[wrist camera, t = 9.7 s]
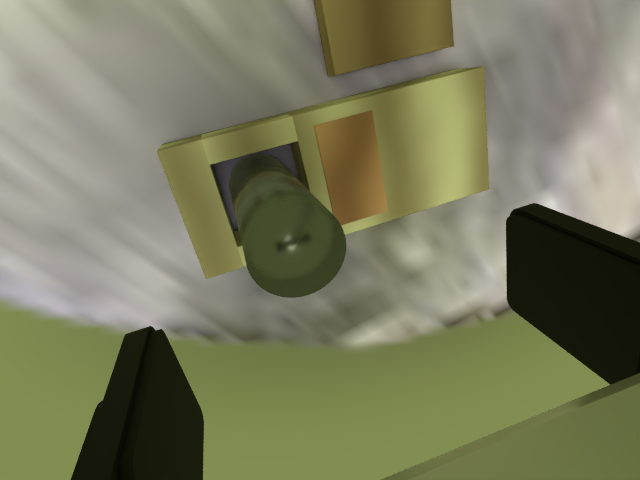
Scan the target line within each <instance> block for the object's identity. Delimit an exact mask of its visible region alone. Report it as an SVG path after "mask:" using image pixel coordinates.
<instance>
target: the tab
mask: <svg viewBox="0 0 640 480" xmlns="http://www.w3.org/2000/svg"><path fill="white" fill-rule="evenodd" d="M314 5H315V10H316V15H317V20H318V26H319V31H320V36H321V41H322V46H323V51H324V57H325V62H326V67H327V72H328V76H334V75H339V74H343V73H347V72H351V71H355V70H359V69H363V68H367V67H371V66H375V65H379V64H383V63H387V62H391V61H395V60H399V59H404V58H408V57H412V56H416V55H420V54H424V53H428V52H432V51H436V50H440V49H444V48H448V47H452V46H454V41H453V26H452V12H451V0H314Z"/></svg>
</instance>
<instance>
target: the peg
mask: <svg viewBox="0 0 640 480" xmlns="http://www.w3.org/2000/svg"><path fill="white" fill-rule="evenodd" d="M229 188H230V193H231V197H232V202H233V206H234V211H235V216H236V220H237V225H238V229H239V234H240V238H241V243H242V247H243V252H244V256H245V261H246V265H247V268H248V271H249V273H250V275H251V276H252V278H253V279H254V281H255V282H256V283H257V284H258V285H259V286H260V287H261V288H263V289H264V290H266V291H267V292H269V293H271V294H274V295H277V296H281V297H301V296H306V295H309V294H312V293H314V292H316V291H318V290H320V289H321V288H323V287H324V286H326V285H327V284H328V283H329V282H330V281H331V280H332V279H333V278H334V277H335V276H336V274H337V273H338V271H339V269H340V268H341V266H342V263H343V261H344V257H345V252H346V239H345V234H344V231H343V228H342V226H341V224H340V223H339V221H338V220H337V218H336V217H335V216H334V215H333V214H332V213H331V212H330V211H329V210H328V209H327V208H326V207H325V206H324V205H323V204H322V203H321V202H320V201H319V200H318V199H317V198H316V197H315V196H314V195H313V194H312V193H311V192H310V191H309V190H308V189H307V188H306V187H305V186H304V185H303V184H302V183H301V182H300V181H299V180H298V179H297V178H296V177H295V176H294V175H293V174H292V173H291V172H290V171H289V170H288V169H287V168H286V167H285V166H284V165H283V164H282V163H281V162H280V161H279V160H277V159H276V158H274V157H272V156H269V155H266V154H253V155H250V156H247V157H245V158H243V159H242V160H240V161H239V162H238V163H237V164H236V166H235V167H234V168H233V170H232V172H231V175H230V180H229Z"/></svg>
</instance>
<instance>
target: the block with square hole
mask: <svg viewBox="0 0 640 480" xmlns="http://www.w3.org/2000/svg"><path fill="white" fill-rule="evenodd" d="M289 143H290V145H291V149H292V153H293V157H294V161H295V165H296V169H297V173H298V177H299V181H300V182H301V183H302V184H303V185H304V186H305V187H306V188H307V189H308V190H309V191H310V192H311V193H312V194H313V195H314V196H315V197H316V198H317V199H318V200H319V201H320V202H321V203H322V204H323V205H324V206H325V207H326V208H327V209H328V210H329V211H330V212H331V213H332V214H333V215H334V216H335V217H336V218H337V220H338V221H339V223H340V224H341V226H342V228H343V231H344V234H345V235H346V234H349V233H352V232H356V231H359V230H362V229H365V228H368V227H371V226H374V225H378V224H381V223H384V222H387V221H390V220H393V219H397V218H400V217H403V216H406V215H409V214H412V213H415V212H419V211H422V210H425V209H428V208H431V207H434V206H437V205H441V204H444V203H447V202H450V201H453V200H456V199H459V198H463V197H466V196H469V195H472V194H475V193H478V192H482V191H485V190H488V189H489V172H488V149H487V125H486V102H485V78H484V67H473V68H462V69H454V70H450V71H446V72H442V73H438V74H435V75H431V76H427V77H423V78H419V79H415V80H411V81H407V82H403V83H400V84H396V85H392V86H388V87H384V88H380V89H376V90H372V91H368V92H365V93H361V94H357V95H353V96H349V97H345V98H341V99H337V100H334V101H330V102H326V103H322V104H318V105H314V106H310V107H306V108H302V109H299V110H295V111H291V112H287V113H283V114H279V115H275V116H271V117H267V118H264V119H260V120H256V121H252V122H248V123H244V124H240V125H236V126H232V127H229V128H225V129H221V130H217V131H213V132H209V133H205V134H201V135H197V136H194V137H190V138H186V139H182V140H178V141H174V142H170V143H166V144H162V146H161V147H160V148H159V149H158V151H157V154H158V156H159V159H160V161H161V164H162V166H163V169H164V172H165V174H166V177H167V179H168V182H169V184H170V187H171V190H172V192H173V195H174V197H175V200H176V203H177V205H178V208H179V210H180V213H181V215H182V218H183V221H184V223H185V226H186V228H187V231H188V233H189V236H190V239H191V241H192V244H193V246H194V249H195V252H196V254H197V257H198V259H199V262H200V264H201V267H202V270H203V272H204V275H205V277H206V279H208V278H211V277H214V276H217V275H220V274H223V273H227V272H230V271H233V270H236V269H239V268H242V267H245V266H247V265H246V261H245V256H244V252H243V247H242V243H241V238H240V234H239V230H237V231H234V229H233V226H232V223H231V220H230V217H229V214H228V211H227V208H226V205H225V202H224V200H223V197H222V194H221V191H220V188H219V185H218V182H217V179H216V176H215V173H214V170H213V167H212V164H215V163H218V162H222V161H226V160H230V159H233V158H237V157H241V156H244V155H248V154H252V153H255V152H259V151H263V150H266V149H270V148H274V147H278V146H281V145H285V144H289Z"/></svg>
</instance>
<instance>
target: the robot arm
mask: <svg viewBox="0 0 640 480" xmlns="http://www.w3.org/2000/svg"><path fill="white" fill-rule="evenodd" d="M506 257H507V301H508V304H509V306H510V307H511V308H512V310H513V311H515V312H516V313H517V314H519V315H520V316H521V317H523V318H524V319H525V320H526V321H528V322H529V323H530V324H532V325H533V326H534V327H536V328H537V329H538V330H540V331H541V332H542V333H544V334H545V335H546V336H548V337H549V338H550V339H551V340H553V341H554V342H555V343H557V344H558V345H559V346H561V347H562V348H563V349H564V350H566V351H567V352H568V353H570V354H571V355H572V356H574V357H575V358H576V359H578V360H579V361H580V362H582V363H583V364H584V365H586V366H587V367H588V368H589V369H591V370H592V371H593V372H595V373H596V374H597V375H599V376H600V377H601V378H603V379H604V380H605V381H607V382H608V383H609V384H610V385H609V386H607V387H604V388H602V389H599V390H597V391H594V392H592V393H589V394H587V395H584V396H582V397H580V398H577V399H575V400H572V401H570V402H567V403H565V404H562V405H560V406H557V407H555V408H553V409H550V410H548V411H545V412H543V413H540V414H538V415H536V416H533V417H531V418H528V419H526V420H524V421H521V422H519V423H516V424H514V425H511V426H509V427H506V428H504V429H502V430H499V431H497V432H494V433H492V434H489V435H487V436H485V437H482V438H480V439H478V440H475V441H473V442H470V443H468V444H465V445H463V446H461V447H458V448H456V449H454V450H451V451H448V452H446V453H444V454H441V455H439V456H436V457H434V458H431V459H429V460H427V461H424V462H422V463H420V464H417V465H415V466H412V467H410V468H408V469H405V470H403V471H400V472H398V473H396V474H393V475H391V476H389V477H386V478H384V479H381V480H640V243H639V242H637V241H634V240H631V239H629V238H626V237H623V236H621V235H618V234H615V233H613V232H610V231H608V230H605V229H602V228H600V227H597V226H594V225H592V224H589V223H586V222H584V221H581V220H579V219H576V218H573V217H571V216H568V215H565V214H563V213H560V212H557V211H555V210H552V209H550V208H547V207H544V206H542V205H539V204H535V203H533V204H529V205H526V206H523V207H520V208H517V209H514V210H513V211H512V212H511V214H510V216H509V217H508V218H507V220H506ZM203 435H204V420H203V414H202V411H201V408H200V406H199V404H198V402H197V399H196V397H195V395H194V394H193V391H192V389H191V387H190V385H189V383H188V381H187V379H186V376H185V374H184V372H183V370H182V368H181V366H180V364H179V362H178V360H177V358H176V355H175V353H174V351H173V349H172V347H171V345H170V343H169V341H168V339H167V337H166V334H165V333H164V331H163V330H162V329H160V330H157V331H155V329H154V328H153V327H151V326H149V327H146V328H143V329H140V330H137V331H134V332H131V333H128V334H126V335H125V337H124V339H123V342H122V345H121V348H120V351H119V354H118V357H117V360H116V363H115V366H114V369H113V372H112V375H111V378H110V382H109V384H108V387H107V390H106V393H105V396H104V399H103V401H101V402H100V403H99V404H98V405H97V407H96V409H95V412H94V415H93V417H92V420H91V423H90V426H89V429H88V432H87V435H86V438H85V441H84V443H83V446H82V449H81V452H80V455H79V458H78V461H77V463H76V466H75V469H74V472H73V475H72V478H71V480H203V439H204V437H203Z"/></svg>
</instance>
